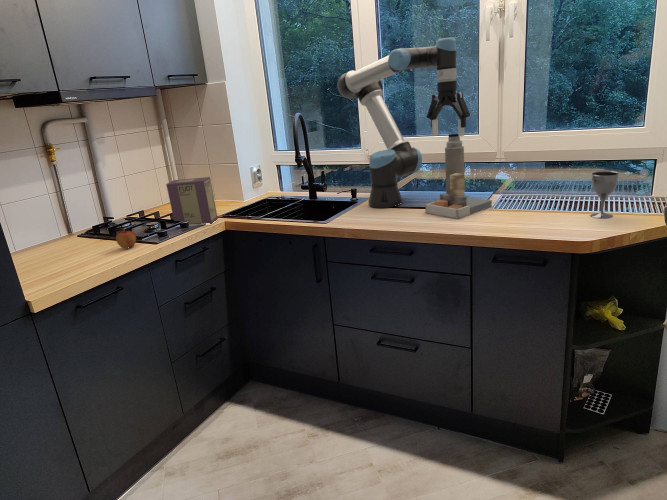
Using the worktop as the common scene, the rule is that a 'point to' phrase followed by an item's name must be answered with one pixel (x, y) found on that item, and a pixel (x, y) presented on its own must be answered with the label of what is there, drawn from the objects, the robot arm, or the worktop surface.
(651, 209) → the worktop surface
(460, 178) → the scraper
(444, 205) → the tile
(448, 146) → the thermos bottle
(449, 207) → the tile
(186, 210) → the box
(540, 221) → the worktop surface
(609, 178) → the wine glass
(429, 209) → the tray
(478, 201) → the board
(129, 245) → the apple
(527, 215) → the worktop surface
